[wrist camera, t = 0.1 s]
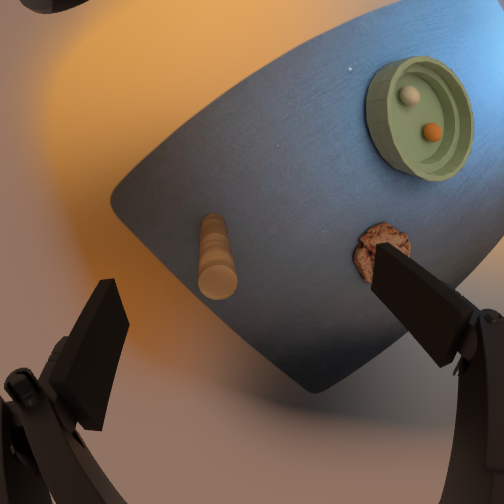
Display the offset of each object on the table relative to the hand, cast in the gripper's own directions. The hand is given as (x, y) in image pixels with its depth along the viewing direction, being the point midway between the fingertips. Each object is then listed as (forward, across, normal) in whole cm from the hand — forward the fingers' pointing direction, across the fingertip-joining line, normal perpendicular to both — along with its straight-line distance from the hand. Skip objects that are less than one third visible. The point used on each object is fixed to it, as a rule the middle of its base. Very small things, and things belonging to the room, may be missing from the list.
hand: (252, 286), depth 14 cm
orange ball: (+21, +31, +8) cm, 38 cm away
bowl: (+24, +28, +10) cm, 38 cm away
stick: (+24, -2, -4) cm, 24 cm away
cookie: (+24, +23, -12) cm, 35 cm away
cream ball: (+21, +26, +12) cm, 36 cm away
